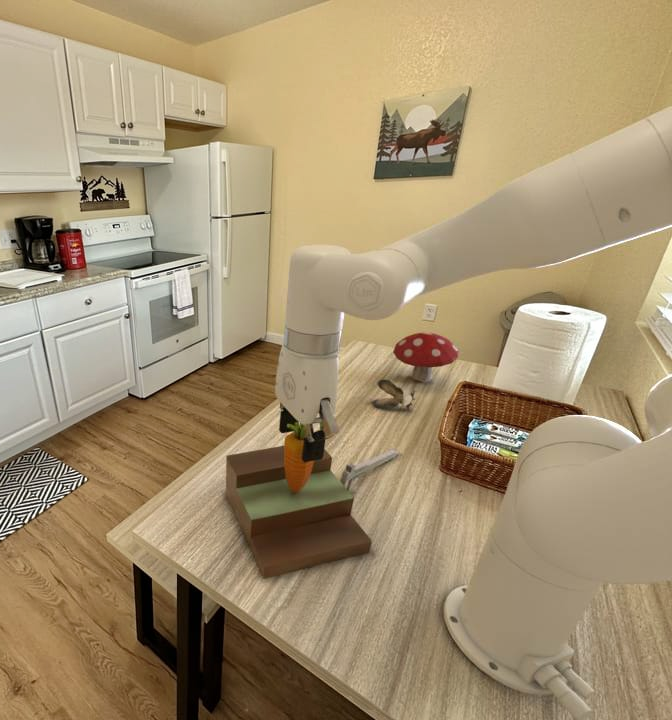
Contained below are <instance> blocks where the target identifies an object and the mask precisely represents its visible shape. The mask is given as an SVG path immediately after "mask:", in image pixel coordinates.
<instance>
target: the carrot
mask: <svg viewBox="0 0 672 720" xmlns="http://www.w3.org/2000/svg"><path fill="white" fill-rule="evenodd" d="M295 426H296V427H295ZM295 426H294V425H291V424H287V427H288V428H290V429H292V430H293V432H290V433H289V434H287V435H286V436H284V445H283V446H284V466H285V475H286V481H287V484H288V486H289V488H290V490H291V492H293V493H294V494H296V493H298V492H299V491H300V490H301V489H302V488H303V487H304V485H305V484H306V483H307V481H308V478H309V476H310V474H311V471H312V468H313V463H314V461H310V462H303V460H302V451H303V443H304V438H307V433H306V425H303V424H301V423H300V422H299V423H298V422H295Z"/></svg>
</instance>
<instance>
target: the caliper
mask: <svg viewBox="0 0 672 720" xmlns="http://www.w3.org/2000/svg"><path fill="white" fill-rule="evenodd" d="M399 454H400V451H397V450H395V449H390V450H387V451H385V452H383V453H381V454H379V455H377V456H375V457H373V458H370V459H369V460H366V461H361V462H359V463H357V464H354V463H352V462H350V463H349V464H346V466H345V469H344V470H343V471H342V474H341V478H340V479H339V481H340V482H341V483H342V484H343V485H344V486H345V488H346V489H347V490H348V491H349V492H351V490H352V488H353V485H354V483H355V481H356V479H361V478H362V477H364V476H365V475H366V473H367V472H369V471H372V469H373V470H374V469H375V468H376V467H379V466H380V465H383V464H384V463H387V462H388V461H390V460H392V459H395V458H396V456H397V455H399Z"/></svg>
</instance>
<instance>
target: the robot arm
mask: <svg viewBox="0 0 672 720" xmlns="http://www.w3.org/2000/svg"><path fill="white" fill-rule="evenodd" d="M669 228H672V105H670V106H667V107H665V108H663V109H661V110H659V111H657V112H655V113H653V114H651V115H649V116H646V117H645V118H642V119H640V120H638V121H636V122H634V123H632V124H630V125H627V126H626V127H623V128H621V129H619V130H617V131H615V132H613V133H611V134H608V135H606V136H604V137H602V138H600V139H598V140H596V141H594V142H592V143H589V144H587V145H585V146H583V147H581V148H579V149H577V150H575V151H572V152H570V153H567V154H566V155H563V156H561V157H559V158H557V159H555V160H553V161H551V162H548V163H547V164H544V165H541V166H540V167H537V168H535V169H533V170H531V171H529V172H526V173H525V174H522V175H520V176H519V177H517V178H515V179H513V180H511V181H509V182H507V183H506V184H505V185H503V186H501V187H499V188H498V189H496V190H495V191H494V192H492V193H491V194H490V195H488V196H487V197H485V198H484V199H482V200H480V201H479V202H478V203H475V204H474V205H472V206H470V207H468V208H466V209H465V210H463V211H461V212H459V213H457V214H454V215H451V217H448V218H446V219H444V220H442V221H440V222H437V223H435V224H433V225H431V226H429V227H427V228H425V229H422V230H420V231H418V232H416V233H413V234H411V235H408V236H406V237H404V238H401V239H400V240H398V241H396V242H393V243H390V244H388V245H386V246H385V245H384V246H382V247H379V248H377V249H374V250H372V251H371V250H370V251H366V252H363V253H351V251H350V250H349V249H348V248H347V247H343V246H340V245H333V244H307V245H302V246H299V247H297V248H296V249H294V250H293V252H292V254H291V256H290V261H289V269H288V270H289V272H288V282H287V292H286V293H287V294H286V307H285V319H284V332H283V341H282V344H281V348H280V352H279V357H278V362H277V368H276V375H275V384H274V394H275V397H276V399H277V400H278V401H279V409H280V413H279V425H278V431H279V432H280V433H281V434H286V433H293V432H294V431H293V430H292V429H290V428H288V427H287V424H291V425H294V426H295V422H298V423H299V424H300V423H301V424H303V425H305V427H306V433H307V438H304V443H303V451H302V460H303V462H310V461H315V460H321V459H322V458H323V454H324V449H325V447H326V440H329V439H331V438H333V437H334V436H336V435H338V434H339V433H340V429H339V426H338V423H337V420H336V417H335V411H336V405H337V401H338V400H337V399H338V392H339V391H338V390H339V389H338V388H339V355H338V354H339V353H340V348H341V340H342V334H343V328H344V321H345V315H348V316H351V317H354V318H357V319H361V320H366V321H380V320H384V319H387V318H389V317H392V316H393V315H396V313H398V312H399V311H400V310H402V309H403V308H404V307H406V305H407V304H409V303H410V302H411V301H413V300H414V299H415V298H417V297H420V296H423V295H425V294H428V293H431V292H433V291H437V290H439V289H442V288H446V287H448V286H451V285H455V284H457V283H461V282H463V281H467V280H469V279H472V278H476V277H480V276H483V275H488V274H490V273H494V272H495V273H496V272H500V271H505V270H506V271H507V270H529V269H530V270H531V269H538V268H545V267H548V266H554V265H558V264H562V263H565V262H568V261H571V260H573V259H576V258H580V257H582V256H586V255H590V254H592V253H595V252H598V251H601V250H605V249H607V248H610V247H613V246H616V245H620V244H622V243H625V242H628V241H629V242H630V241H631V240H635V239H637V238H641V237H644V236H647V235H650V234H653V233H656V232H659V231H663V230H665V229H669ZM317 416H318V417H317ZM644 416H645V420H646V425H647V428H648V430H649V434H650V437H651V438H649V439H647V440H645V441H642V440H641V439H640V438H639V437H638V436H637V435H635V434H634V433H633V432H631V430H628V429H627V428H626V427H624V426H622V425H621V424H618V423H616V422H613V421H611V420H608V419H605V418H602V417H597V416H593V415H585V414H579V415H578V414H573V415H571V414H570V415H564V416H559V417H555V418H552V419H549V420H546V421H545V422H543V423H541V424H539V425H538V426H536V427H534V429H533V430H532V431H531V432H530V433H529V434H528V435H527V436H526V437H525V439H524V441H523V442H522V444H521V446H520V449H519V451H518V453H517V456H516V460H515V463H514V466H513V470H512V472H511V476H510V478H509V481H508V484H507V487H506V490H505V493H504V495H503V498H502V501H501V504H500V506H499V509H498V512H496V513H497V514H496V516H495V519H494V521H493V524H492V525H491V528H490V530H489V533H488V535H487V538H486V540H485V543H484V545H483V548H482V550H481V553H480V555H479V558H478V560H477V562H476V565H475V567H474V570H473V572H472V575H471V577H470V579H469V582H468V584H465V585H461V586H458V587H454V589H452V590H451V591H450V592H449V593H448V595H447V596H446V599H445V601H444V603H443V611H442V613H443V618H444V623H445V626H446V628H447V630H448V633H449V634H450V636H451V638H452V640H453V641H454V642H455V644H456V645H457V647H458V648H459V649H460V650H461V652H462V653H463V654H464V656H466V657H467V658H468V660H470V661H471V662H472V663H473V664H474V665H475V666H476V667H477V668H478V669H480V670H481V671H482V672H484V674H486V675H488V676H489V677H490V678H492V679H494V680H495V681H497V682H499V683H500V684H502V685H504V686H506V687H508V688H510V689H513V690H515V691H517V692H521V693H524V694H527V695H532V696H541V697H543V696H551V695H553V696H554V697H555V698H556V699H557V700H558V703H559V704H561V706H562V707H563V708H564V709H565V710H566V711H567V712H568V714H569V715H570V716H572V718H573V719H574V720H587V719H588V718H590V717H591V716H592V714H593V713H594V711H593V709H592V708H591V707H590V706H589V705H588V704H587V703H586V702H585V701H584V700H589V699H591V698H592V697H594V696H595V695H596V693H597V692H596V691H595V689H593V688H592V687H591V686H590V685H589V683H587V682H586V681H585V680H584V679H583V678H581V677H580V676H579V675H578V674H577V673H576V672H575V671H574V670H573V665H572V664H571V663H570V661H571V659H572V658H573V657H574V655H575V650H574V649H573V648H572V647H571V646H570V645H569V644H568V643H567V642H568V640H569V638H570V637H571V636H572V634H573V632H574V630H575V628H576V627H577V626H578V624H579V622H580V621H581V619H582V618H583V616H584V614H585V613H586V611H587V609H588V608H589V606H590V604H591V603H592V602H593V599H594V598H595V597H596V594H597V593H598V591H599V590H600V589H601V587H602V586H603V585H604V584H609V585H647V584H657V583H665V582H671V581H672V373H671V374H669V375H667V376H665V377H664V378H663V379H661V380H660V381H659V382H657V383H656V384H655V385H653V386H652V388H651V389H650V390H649V392H648V394H647V395H646V397H645V400H644ZM315 424H319V429H318V430H316V431H314V425H315ZM295 427H296V426H295ZM567 682H568V683H569V684H570V685H571V687H572V688H573V689H574V690H575V691H576V692H577V693H578V694H579V695H580V696H581V697H582V698H583V699H584V700H583V699H582V698H581V697H580V696H579V695H578V694H577V693H576V692H575V691H574V690H572V689H571V688H570V687H569V686H568V685H567Z"/></svg>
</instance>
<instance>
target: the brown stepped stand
mask: <svg viewBox="0 0 672 720" xmlns="http://www.w3.org/2000/svg"><path fill="white" fill-rule="evenodd" d="M225 462H226V463H225V495H226V498H227V500H228V502H229V504H230V506H231V509H232V511H233V514H234V515H235V518H236V521H237V522H238V524H239V527H240V529H241V531H242V534H243V536H244V538H245V540H246V542H247V545H248V547H249V549H250V552H251V554H252V556H253V558H254V560H255V563H256V565H257V567H258V569H259V572H260V574H261V576H262V578H263V579H267V578H271V577H276V576H279V575H284V574H288V573H292V572H297V571H299V570H304V569H308V568H312V567H315V566H319V565H324V564H327V563H333V562H337V561H341V560H344V559H348V558H352V557H356V556H360V555H365V554H368V553H370V552H371V548H372V543H373V541H372V539H371V538H370V537H369V535H368V534H367V533H366V532H365V529H363V527H361V525H360V524H359V523H358V522H357V520H356V519H355V518H354V516H353V515H352V510H353V505H354V500H355V497H354V496H353V494H352V493H351V491H348V490H347V489H346V488H345V486H344V485H343V484H342V483H341V482H340V479H339V478H338V477H337V476H336V475H335V474H334V472H333V471H332V470H331V468H332V463H333V457H332V456H331V454H330V453H329V452H328V451H327V450H326V449H325V448H324V454H323V458H322V459H321V460H315V461H314V463H313V468H312V471H311V474H310V476H309V478H308V481H307V483H306V484H305V485H304V487H303V488H302V489H301V490H300V491H299V492H298V493H296V494H294V493H293V492H291V490H290V488H289V486H288V484H287V481H286V475H285V466H284V445H280V446H274V447H268V448H261V449H257V450H250V451H245V452H239V453H234V454H233V453H232V454H228V455H226V461H225Z"/></svg>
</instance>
